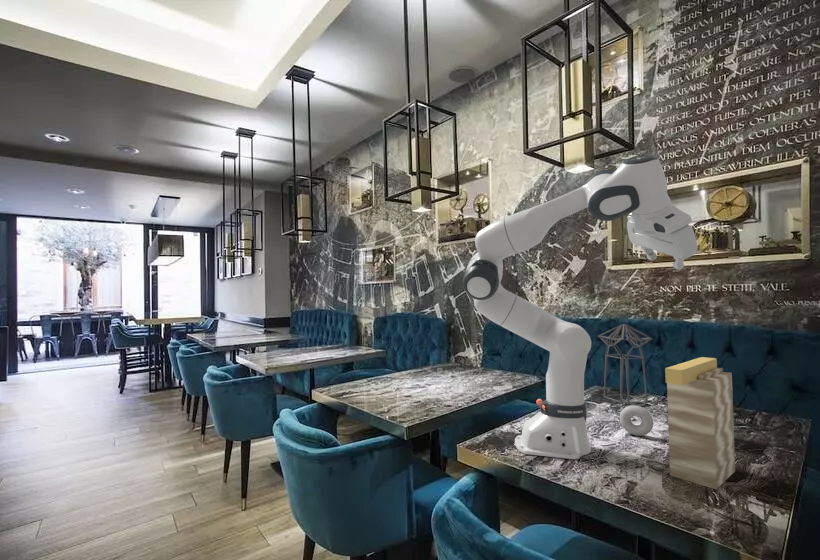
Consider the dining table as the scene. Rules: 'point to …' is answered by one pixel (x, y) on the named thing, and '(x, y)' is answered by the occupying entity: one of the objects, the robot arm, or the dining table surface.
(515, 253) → the robot arm
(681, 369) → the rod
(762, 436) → the dining table surface
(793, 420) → the dining table surface
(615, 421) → the dining table surface
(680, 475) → the plinth
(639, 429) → the donut
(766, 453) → the dining table surface
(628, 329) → the geometric lantern
